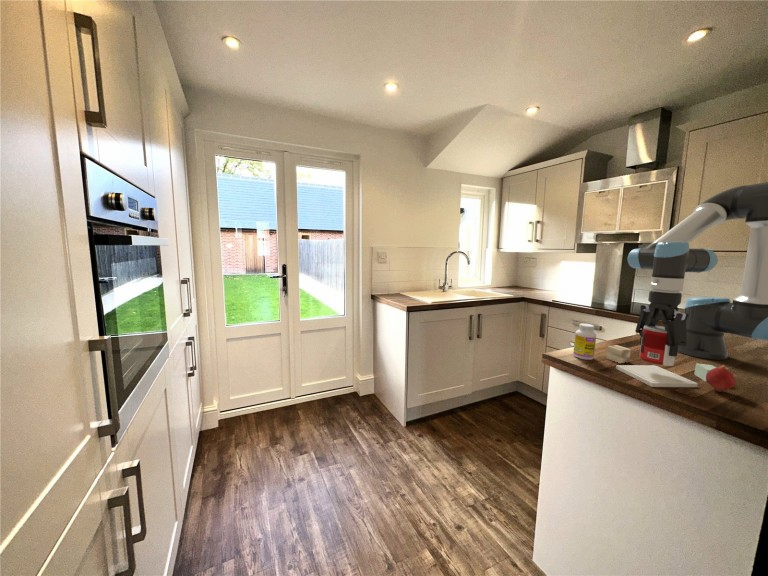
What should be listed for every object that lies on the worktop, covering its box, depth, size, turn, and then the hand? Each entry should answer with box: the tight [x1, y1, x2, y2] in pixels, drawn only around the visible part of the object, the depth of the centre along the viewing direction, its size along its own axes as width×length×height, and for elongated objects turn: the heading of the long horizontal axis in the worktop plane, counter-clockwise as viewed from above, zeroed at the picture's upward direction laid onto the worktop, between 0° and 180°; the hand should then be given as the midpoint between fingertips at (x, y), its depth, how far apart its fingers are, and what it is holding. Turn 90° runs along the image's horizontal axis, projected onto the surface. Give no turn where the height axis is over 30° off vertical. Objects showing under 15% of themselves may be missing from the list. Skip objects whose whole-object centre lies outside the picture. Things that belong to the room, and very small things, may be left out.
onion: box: [706, 365, 737, 392], centre depth 88 cm, size 6×6×8 cm
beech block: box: [605, 344, 632, 364], centre depth 112 cm, size 5×5×5 cm
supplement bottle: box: [572, 323, 597, 361], centre depth 114 cm, size 7×7×13 cm
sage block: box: [694, 363, 717, 383], centre depth 96 cm, size 4×6×4 cm, turn 158°
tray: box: [615, 364, 699, 388], centre depth 97 cm, size 14×14×1 cm
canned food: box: [639, 325, 674, 366], centre depth 96 cm, size 8×8×11 cm
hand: (655, 360), depth 97 cm, fingers closed on canned food, 8 cm apart
